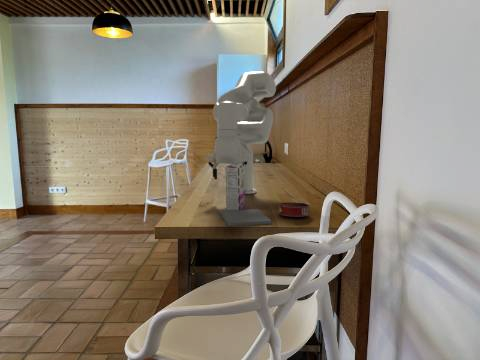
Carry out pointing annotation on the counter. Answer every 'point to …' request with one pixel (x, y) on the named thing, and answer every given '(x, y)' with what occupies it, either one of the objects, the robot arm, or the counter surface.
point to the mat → (244, 217)
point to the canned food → (294, 208)
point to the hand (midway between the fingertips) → (227, 178)
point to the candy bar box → (235, 187)
